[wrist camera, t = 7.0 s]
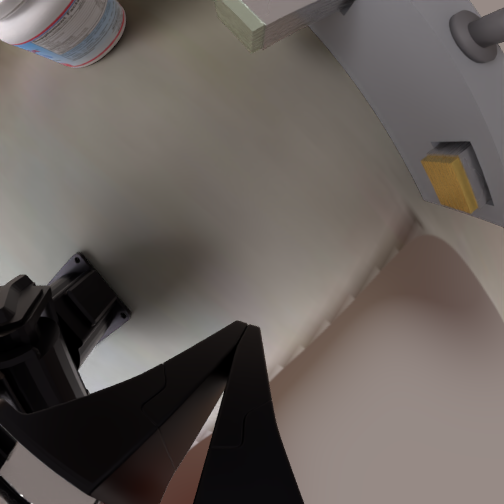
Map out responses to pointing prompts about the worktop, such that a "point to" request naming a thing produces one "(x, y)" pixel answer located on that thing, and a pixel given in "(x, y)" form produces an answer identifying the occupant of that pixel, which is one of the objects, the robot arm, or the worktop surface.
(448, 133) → the switch panel
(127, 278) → the worktop surface
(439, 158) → the mustard button
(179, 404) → the robot arm
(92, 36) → the pill bottle
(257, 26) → the green button
